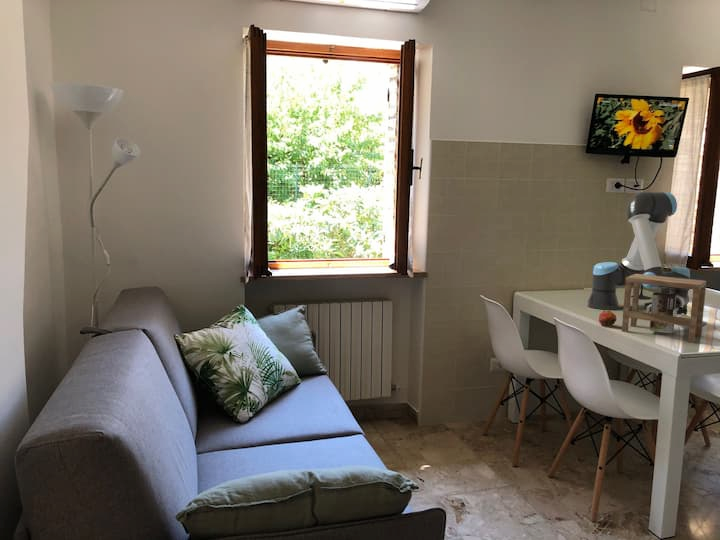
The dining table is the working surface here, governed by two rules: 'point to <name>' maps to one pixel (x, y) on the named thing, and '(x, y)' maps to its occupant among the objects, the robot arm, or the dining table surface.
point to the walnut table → (693, 322)
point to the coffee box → (662, 310)
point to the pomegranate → (607, 318)
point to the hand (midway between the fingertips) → (660, 311)
